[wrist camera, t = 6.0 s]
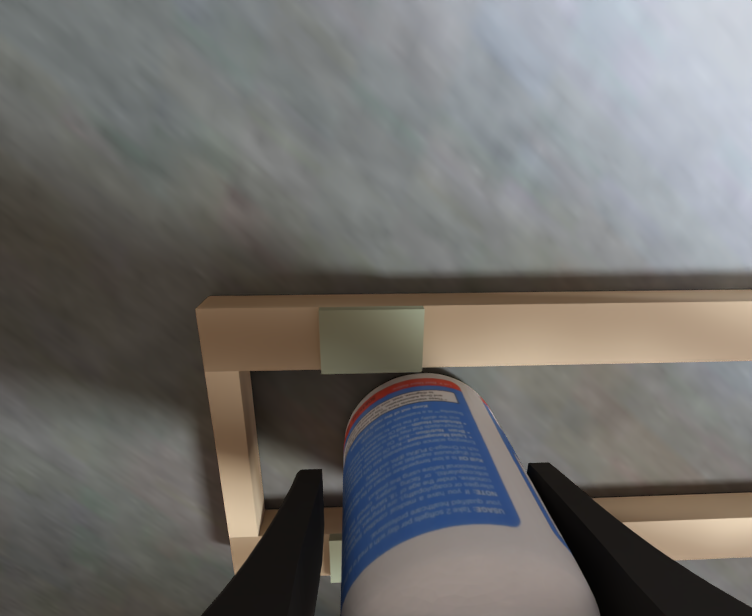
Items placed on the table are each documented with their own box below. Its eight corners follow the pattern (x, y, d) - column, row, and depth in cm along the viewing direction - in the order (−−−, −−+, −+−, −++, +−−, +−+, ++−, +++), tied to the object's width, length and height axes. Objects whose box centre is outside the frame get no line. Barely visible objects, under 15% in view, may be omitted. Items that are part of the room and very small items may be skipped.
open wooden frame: (822, 527, 18) (863, 559, 16) (243, 550, 16) (233, 586, 15) (933, 287, 14) (998, 301, 13) (209, 296, 13) (191, 312, 12)
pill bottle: (316, 459, 15) (257, 917, 6) (395, 341, 14) (477, 702, 5) (440, 515, 16) (551, 971, 7) (524, 411, 15) (797, 813, 6)
